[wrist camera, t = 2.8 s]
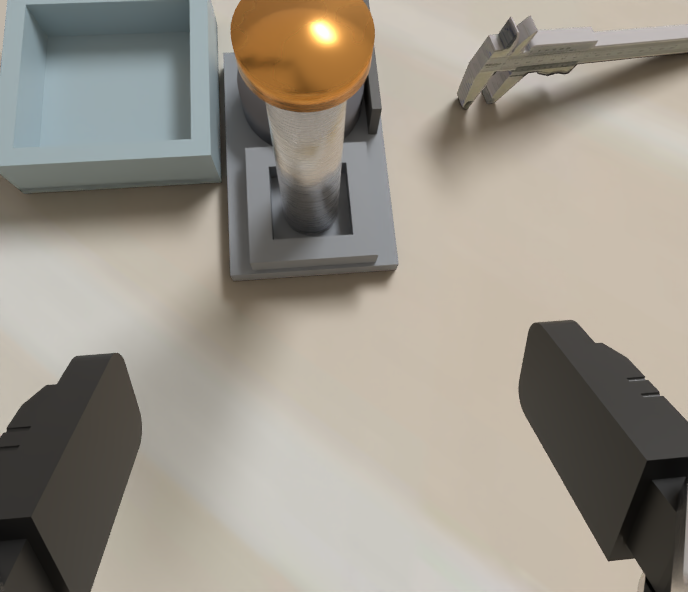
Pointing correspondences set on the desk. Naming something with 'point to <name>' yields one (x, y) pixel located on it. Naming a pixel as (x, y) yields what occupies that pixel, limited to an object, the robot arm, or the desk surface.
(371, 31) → the pin
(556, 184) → the desk surface
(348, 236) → the plate
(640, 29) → the caliper
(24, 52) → the tray
